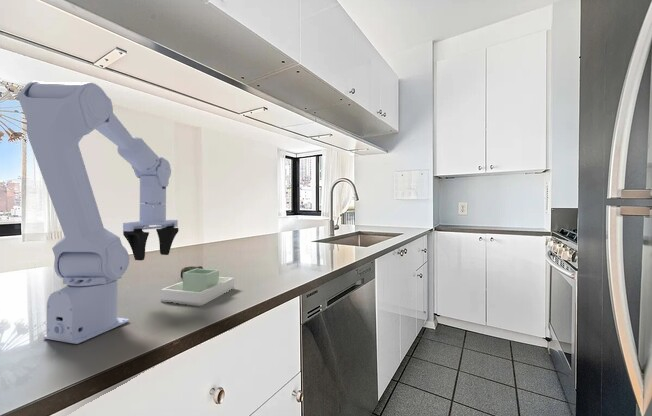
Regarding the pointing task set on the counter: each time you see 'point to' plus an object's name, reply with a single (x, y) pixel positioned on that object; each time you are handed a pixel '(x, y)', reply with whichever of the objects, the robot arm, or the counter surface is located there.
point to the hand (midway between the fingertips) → (152, 257)
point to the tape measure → (189, 269)
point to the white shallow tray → (196, 293)
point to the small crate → (200, 279)
